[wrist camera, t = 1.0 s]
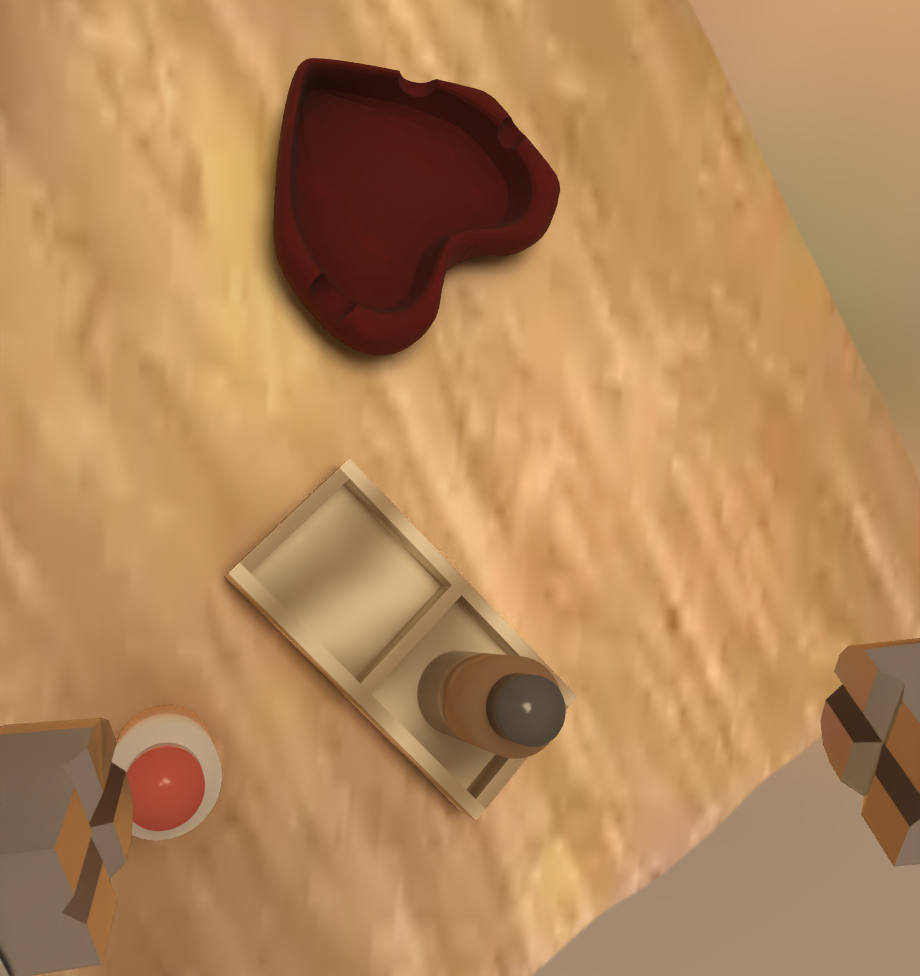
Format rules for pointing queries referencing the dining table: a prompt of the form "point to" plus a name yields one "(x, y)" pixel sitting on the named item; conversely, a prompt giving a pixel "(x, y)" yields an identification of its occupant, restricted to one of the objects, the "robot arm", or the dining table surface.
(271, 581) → the caddy
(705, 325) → the dining table surface
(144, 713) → the white shaker
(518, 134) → the ashtray
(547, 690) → the brown soy bottle
